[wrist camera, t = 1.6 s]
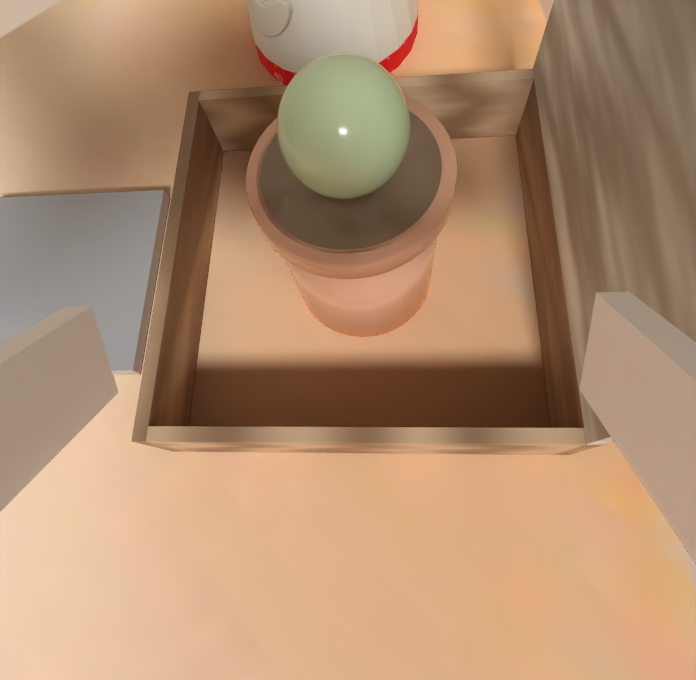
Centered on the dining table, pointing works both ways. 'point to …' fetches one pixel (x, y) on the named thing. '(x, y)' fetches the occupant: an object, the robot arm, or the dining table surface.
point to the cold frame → (540, 209)
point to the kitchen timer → (330, 31)
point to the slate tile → (83, 264)
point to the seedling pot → (353, 192)
